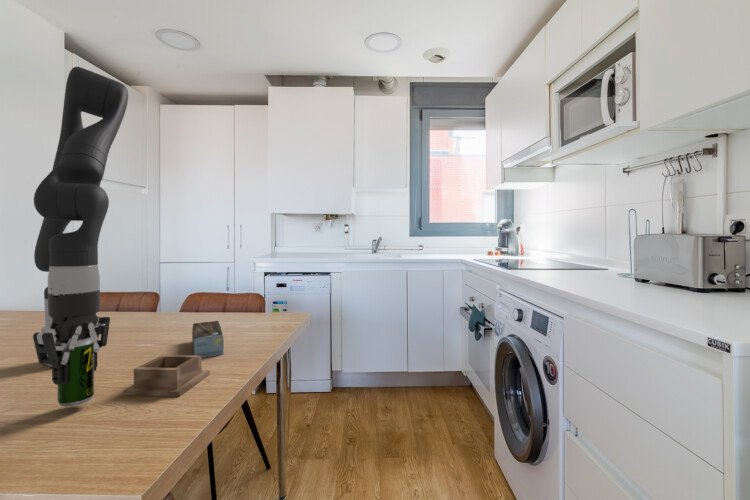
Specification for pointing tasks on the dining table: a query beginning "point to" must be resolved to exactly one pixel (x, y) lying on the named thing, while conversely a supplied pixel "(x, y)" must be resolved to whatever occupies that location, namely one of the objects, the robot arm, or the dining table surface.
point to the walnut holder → (167, 376)
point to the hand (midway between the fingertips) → (76, 377)
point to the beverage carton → (207, 339)
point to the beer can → (78, 374)
